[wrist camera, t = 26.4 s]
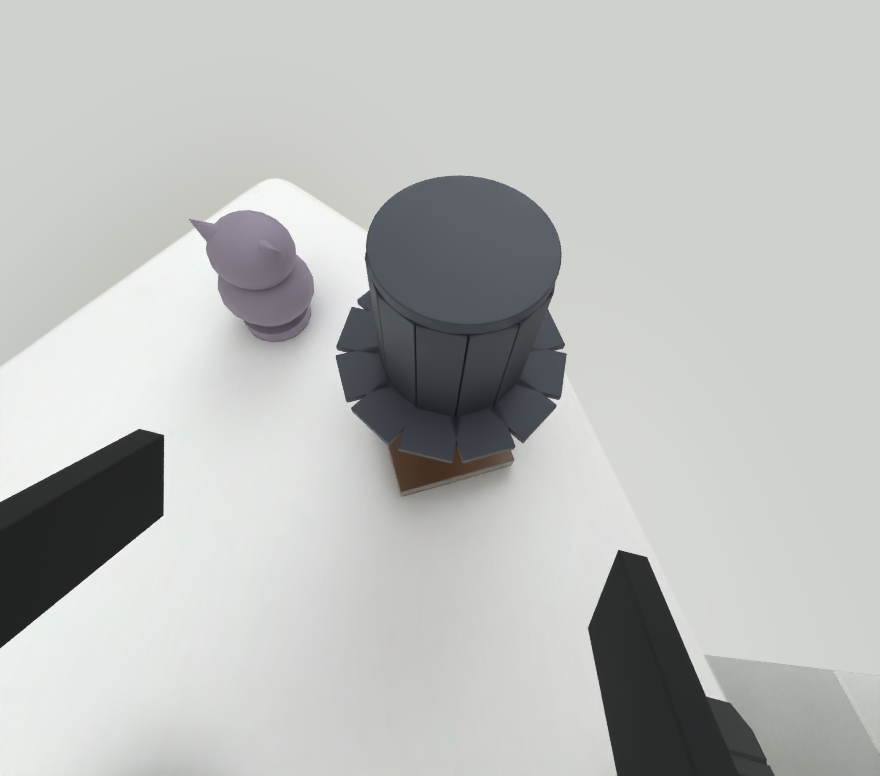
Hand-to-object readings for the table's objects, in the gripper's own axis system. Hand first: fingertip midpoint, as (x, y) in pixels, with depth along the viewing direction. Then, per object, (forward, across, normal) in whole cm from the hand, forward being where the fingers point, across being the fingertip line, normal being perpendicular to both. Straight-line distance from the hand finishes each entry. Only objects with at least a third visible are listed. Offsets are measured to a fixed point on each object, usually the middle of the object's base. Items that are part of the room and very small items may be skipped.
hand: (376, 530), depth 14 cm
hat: (+19, 0, 0) cm, 19 cm away
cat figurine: (+34, -19, -4) cm, 39 cm away
